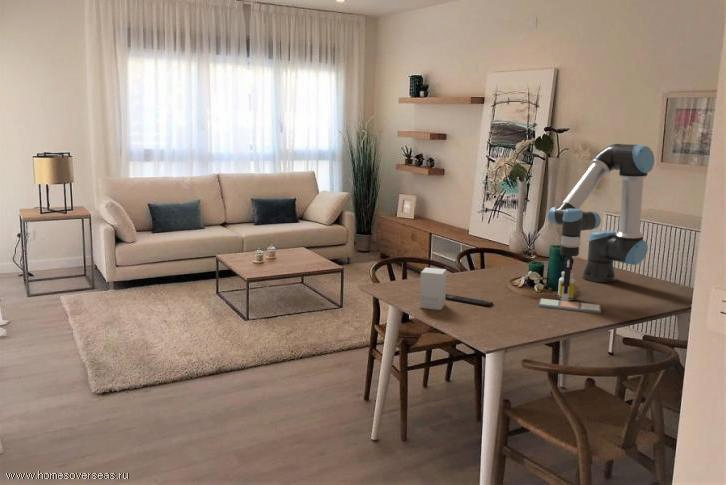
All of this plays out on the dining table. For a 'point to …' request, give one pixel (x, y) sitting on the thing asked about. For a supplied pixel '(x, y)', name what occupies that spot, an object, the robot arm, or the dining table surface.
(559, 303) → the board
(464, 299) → the remote control
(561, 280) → the pill bottle
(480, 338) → the dining table surface
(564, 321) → the dining table surface
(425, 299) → the supplement box
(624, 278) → the dining table surface
